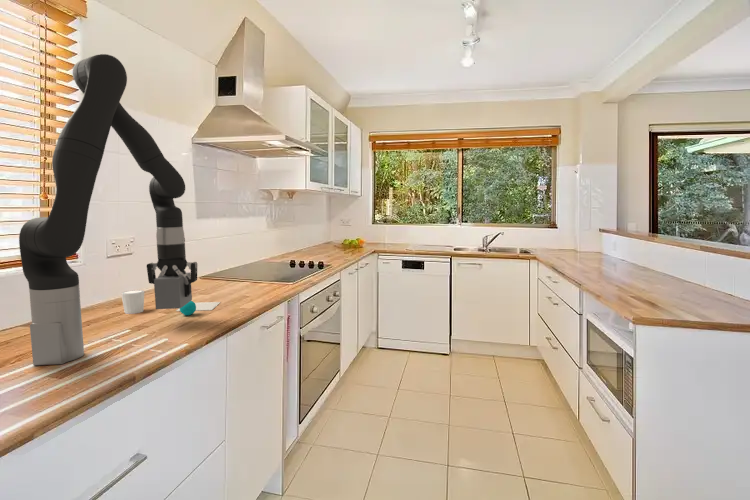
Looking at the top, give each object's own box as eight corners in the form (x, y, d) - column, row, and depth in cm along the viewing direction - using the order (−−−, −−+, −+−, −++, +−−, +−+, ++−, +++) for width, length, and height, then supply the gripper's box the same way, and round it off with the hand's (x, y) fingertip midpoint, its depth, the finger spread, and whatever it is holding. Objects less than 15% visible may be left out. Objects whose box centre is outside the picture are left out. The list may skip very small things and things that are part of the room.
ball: (193, 316, 135) (193, 301, 134) (177, 317, 134) (177, 302, 134) (198, 313, 140) (197, 298, 139) (182, 313, 139) (182, 298, 139)
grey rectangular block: (180, 308, 120) (178, 278, 119) (155, 309, 119) (153, 279, 118) (192, 299, 131) (190, 272, 130) (169, 300, 130) (167, 273, 129)
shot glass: (135, 314, 138) (133, 294, 137) (117, 313, 139) (116, 293, 138) (150, 309, 144) (149, 290, 144) (133, 308, 146) (132, 289, 145)
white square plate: (211, 310, 144) (211, 309, 144) (175, 311, 142) (175, 310, 142) (220, 302, 156) (220, 301, 156) (187, 303, 154) (187, 302, 154)
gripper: (139, 243, 118) (143, 300, 120) (192, 243, 120) (195, 298, 122) (150, 241, 126) (154, 294, 128) (199, 240, 127) (202, 293, 129)
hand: (174, 296), depth 125 cm, fingers closed on grey rectangular block, 7 cm apart
